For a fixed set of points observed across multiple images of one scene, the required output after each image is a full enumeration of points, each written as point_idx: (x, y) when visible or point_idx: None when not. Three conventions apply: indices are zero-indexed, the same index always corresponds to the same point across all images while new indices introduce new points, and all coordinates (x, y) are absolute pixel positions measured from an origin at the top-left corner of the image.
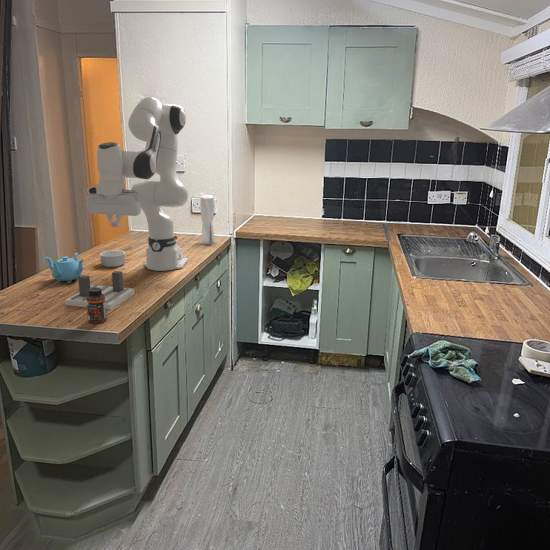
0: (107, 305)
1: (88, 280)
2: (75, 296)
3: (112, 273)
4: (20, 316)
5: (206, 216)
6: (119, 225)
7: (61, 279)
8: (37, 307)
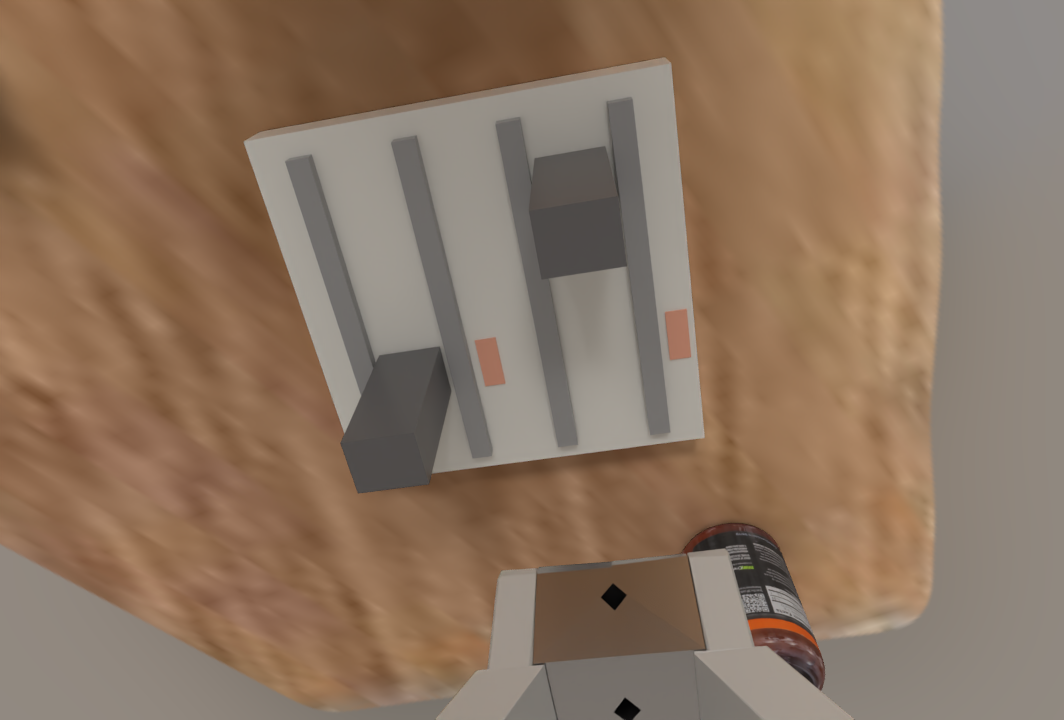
0: (683, 437)
1: (424, 424)
2: None
3: (549, 274)
4: (303, 646)
5: None
6: (729, 577)
7: None
8: (257, 541)
